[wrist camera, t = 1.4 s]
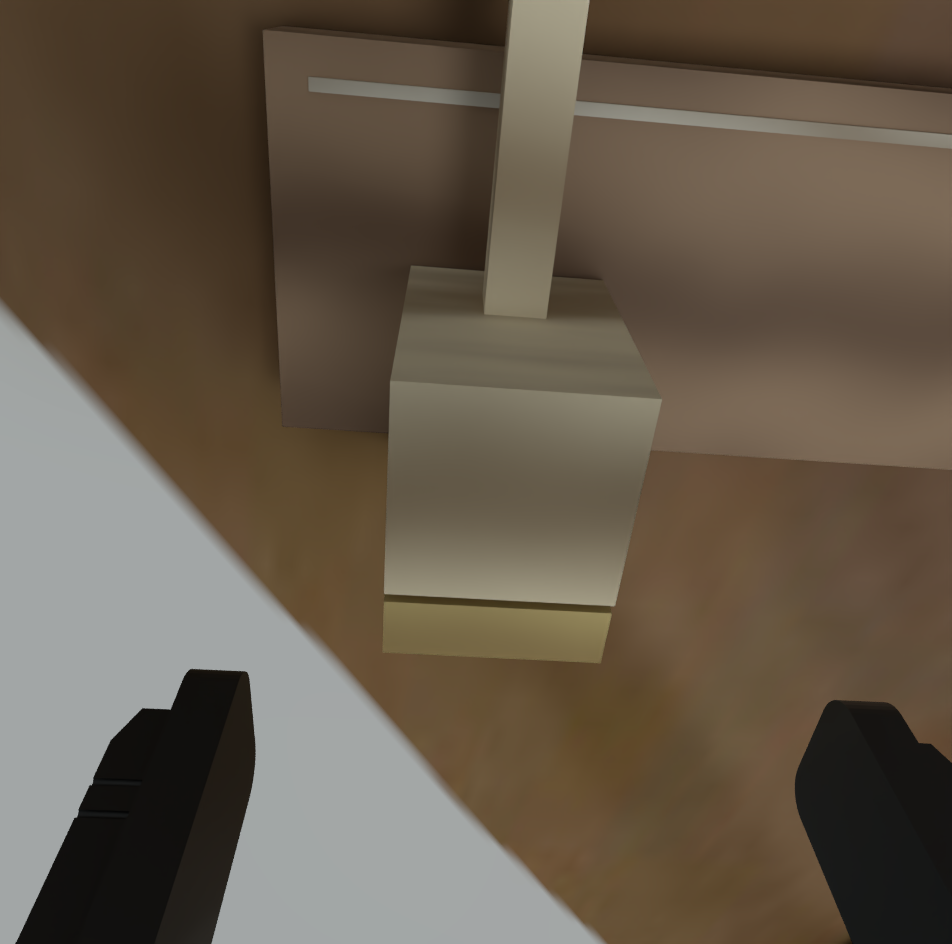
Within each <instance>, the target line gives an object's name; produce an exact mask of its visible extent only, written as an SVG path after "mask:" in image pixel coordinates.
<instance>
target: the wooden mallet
mask: <svg viewBox="0 0 952 944" xmlns="http://www.w3.org/2000/svg"><path fill="white" fill-rule="evenodd" d="M588 7H589V0H509V6H508V17H507V28H506V39H505V50H504V61H503V72H502V83H501V95H500V106H499V117H498V128H497V139H496V150H495V161H494V172H493V183H492V194H491V205H490V217H489V228H488V239H487V250H486V261H485V271H476V270H463V269H450V268H437V267H424V266H411V268H410V274H409V279H408V285H407V290H406V296H405V301H404V307H403V313H402V318H401V324H400V329H399V335H398V340H397V346H396V351H395V357H394V363H393V368H392V374H391V379H390V406H389V440H388V474H387V508H386V543H385V577H384V594H385V598H384V621H383V652H385V653H406V654H426V655H447V656H467V657H488V658H508V659H529V660H549V661H570V662H590V663H601V659H602V654H603V650H604V645H605V641H606V637H607V632H608V628H609V623H610V619H611V615H612V613H611V608H610V606H615V603H616V599H617V595H618V590H619V586H620V582H621V577H622V573H623V568H624V564H625V560H626V555H627V551H628V547H629V542H630V538H631V533H632V529H633V525H634V520H635V516H636V512H637V507H638V503H639V498H640V494H641V490H642V485H643V481H644V477H645V472H646V468H647V463H648V459H649V455H650V450H651V446H652V442H653V437H654V433H655V428H656V424H657V420H658V415H659V411H660V407H661V402H662V398H661V396H660V394H659V392H658V390H657V388H656V386H655V384H654V382H653V380H652V378H651V376H650V374H649V372H648V370H647V368H646V366H645V364H644V362H643V359H642V357H641V355H640V353H639V351H638V349H637V347H636V345H635V343H634V341H633V339H632V337H631V335H630V333H629V331H628V329H627V327H626V325H625V323H624V321H623V319H622V317H621V315H620V313H619V311H618V309H617V307H616V305H615V303H614V301H613V299H612V297H611V295H610V293H609V291H608V289H607V287H606V285H605V283H604V281H603V280H593V279H580V278H567V277H554V276H552V273H553V265H554V258H555V251H556V243H557V236H558V228H559V221H560V214H561V206H562V199H563V192H564V184H565V177H566V170H567V162H568V155H569V147H570V140H571V133H572V125H573V118H574V111H575V103H576V96H577V89H578V81H579V74H580V66H581V59H582V52H583V44H584V37H585V30H586V22H587V15H588Z"/></svg>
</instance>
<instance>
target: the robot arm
mask: <svg viewBox="0 0 952 944" xmlns="http://www.w3.org/2000/svg"><path fill="white" fill-rule="evenodd" d="M254 768H255V736H254V725H253V714H252V703H251V692H250V681H249V676H248V673H247V672H245V671H222V670H200V669H190V670H189V671H188V672H187V673H186V675H185V676H184V678H183V681H182V683H181V686H180V688H179V690H178V693H177V696H176V698H175V701H174V703H173V705H172V708H171V710H167V709H145V708H143V709H141V711H139V712H138V714H137V715H136V716H134V717H133V718H132V720H130V721H129V723H128V724H127V725H126V726H125V727H124V728H123V729H122V730H121V731H120V732H119V733H118V734H117V735H116V736H115V737H114V738H113V739H112V740H111V741H110V744H109V745H108V748H107V750H106V752H105V754H104V756H103V758H102V761H101V763H100V765H99V767H98V769H97V771H96V773H95V775H94V778H93V779H94V780H93V784H92V786H91V785H90V786H89V788H88V790H87V792H86V795H85V797H84V799H83V801H82V803H81V805H80V807H79V813H78V816H77V818H74V820H73V822H72V825H71V827H70V829H69V831H68V833H67V835H66V837H65V839H64V842H63V844H62V846H61V848H60V850H59V852H58V854H57V857H56V859H55V861H54V863H53V865H52V867H51V869H50V872H49V874H48V876H47V878H46V880H45V882H44V885H43V887H42V889H41V891H40V893H39V895H38V897H37V899H36V902H35V904H34V906H33V908H32V910H31V912H30V914H29V917H28V919H27V921H26V923H25V925H24V927H23V929H22V931H21V933H20V936H19V938H18V940H17V942H16V943H15V944H211V943H212V939H213V935H214V931H215V928H216V924H217V920H218V916H219V912H220V908H221V905H222V901H223V897H224V893H225V889H226V885H227V882H228V878H229V874H230V870H231V866H232V862H233V859H234V855H235V851H236V847H237V843H238V839H239V836H240V832H241V828H242V824H243V820H244V817H245V813H246V809H247V805H248V801H249V797H250V793H251V788H252V783H253V776H254ZM795 797H796V804H797V809H798V812H799V815H800V818H801V821H802V823H803V825H804V828H805V830H806V833H807V835H808V837H809V840H810V842H811V845H812V847H813V849H814V852H815V854H816V857H817V859H818V861H819V864H820V866H821V869H822V871H823V873H824V876H825V878H826V881H827V883H828V885H829V888H830V890H831V893H832V895H833V897H834V900H835V902H836V905H837V907H838V909H839V912H840V914H841V917H842V919H843V921H844V924H845V926H846V929H847V931H848V933H849V936H850V938H851V941H852V943H853V944H952V763H951V762H950V761H949V760H948V759H947V758H946V757H944V756H943V755H942V754H941V753H940V752H939V751H938V750H937V749H936V748H935V747H934V746H933V745H931V744H923V743H918V741H917V740H916V738H915V736H914V735H913V733H912V732H911V730H910V728H909V727H908V725H907V723H906V722H905V720H904V719H903V717H902V715H901V714H900V713H899V711H898V710H897V709H896V708H895V707H894V706H893V705H891V704H889V703H885V702H864V701H842V700H833V701H831V702H829V703H828V704H827V705H826V707H825V709H824V710H823V713H822V715H821V717H820V720H819V722H818V724H817V726H816V729H815V731H814V733H813V735H812V738H811V740H810V742H809V744H808V747H807V749H806V751H805V754H804V756H803V758H802V760H801V763H800V765H799V767H798V770H797V773H796V779H795Z"/></svg>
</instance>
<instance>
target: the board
mask: <svg viewBox="0 0 952 944" xmlns="http://www.w3.org/2000/svg"><path fill="white" fill-rule="evenodd" d="M263 49H264V69H265V88H266V108H267V128H268V148H269V168H270V188H271V208H272V228H273V248H274V268H275V288H276V308H277V328H278V348H279V368H280V387H281V407H282V426H283V427H298V428H314V429H329V430H345V431H360V432H376V433H389V406H390V379H391V374H392V368H393V363H394V357H395V351H396V346H397V340H398V335H399V329H400V324H401V318H402V313H403V307H404V301H405V296H406V290H407V285H408V279H409V274H410V268H411V266H424V267H437V268H450V269H463V270H476V271H485V261H486V250H487V239H488V228H489V217H490V205H491V194H492V183H493V172H494V161H495V150H496V139H497V128H498V117H499V106H500V95H501V83H502V72H503V61H504V50H505V47H504V46H494V45H483V44H472V43H462V42H451V41H441V40H430V39H419V38H409V37H398V36H387V35H377V34H366V33H355V32H345V31H334V30H323V29H313V28H302V27H291V26H279V27H274V28H269V29H264V30H263ZM552 276H554V277H567V278H580V279H593V280H603V281H604V283H605V285H606V287H607V289H608V291H609V293H610V295H611V297H612V299H613V301H614V303H615V305H616V307H617V309H618V311H619V313H620V315H621V317H622V319H623V321H624V323H625V325H626V327H627V329H628V331H629V333H630V335H631V337H632V339H633V341H634V343H635V345H636V347H637V349H638V351H639V353H640V355H641V357H642V359H643V362H644V364H645V366H646V368H647V370H648V372H649V374H650V376H651V378H652V380H653V382H654V384H655V386H656V388H657V390H658V392H659V394H660V396H661V398H662V402H661V407H660V411H659V415H658V420H657V424H656V428H655V433H654V437H653V442H652V446H651V450H654V451H669V452H684V453H700V454H715V455H731V456H746V457H762V458H777V459H793V460H808V461H823V462H839V463H854V464H870V465H885V466H901V467H916V468H932V469H947V470H952V88H942V87H931V86H920V85H910V84H899V83H888V82H878V81H867V80H856V79H846V78H835V77H824V76H814V75H803V74H792V73H782V72H771V71H760V70H750V69H739V68H728V67H718V66H707V65H696V64H686V63H675V62H664V61H654V60H643V59H632V58H622V57H611V56H600V55H590V54H582V59H581V66H580V74H579V81H578V89H577V96H576V103H575V111H574V118H573V125H572V133H571V140H570V147H569V155H568V162H567V170H566V177H565V184H564V192H563V199H562V206H561V214H560V221H559V228H558V236H557V243H556V251H555V258H554V265H553V273H552Z"/></svg>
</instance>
